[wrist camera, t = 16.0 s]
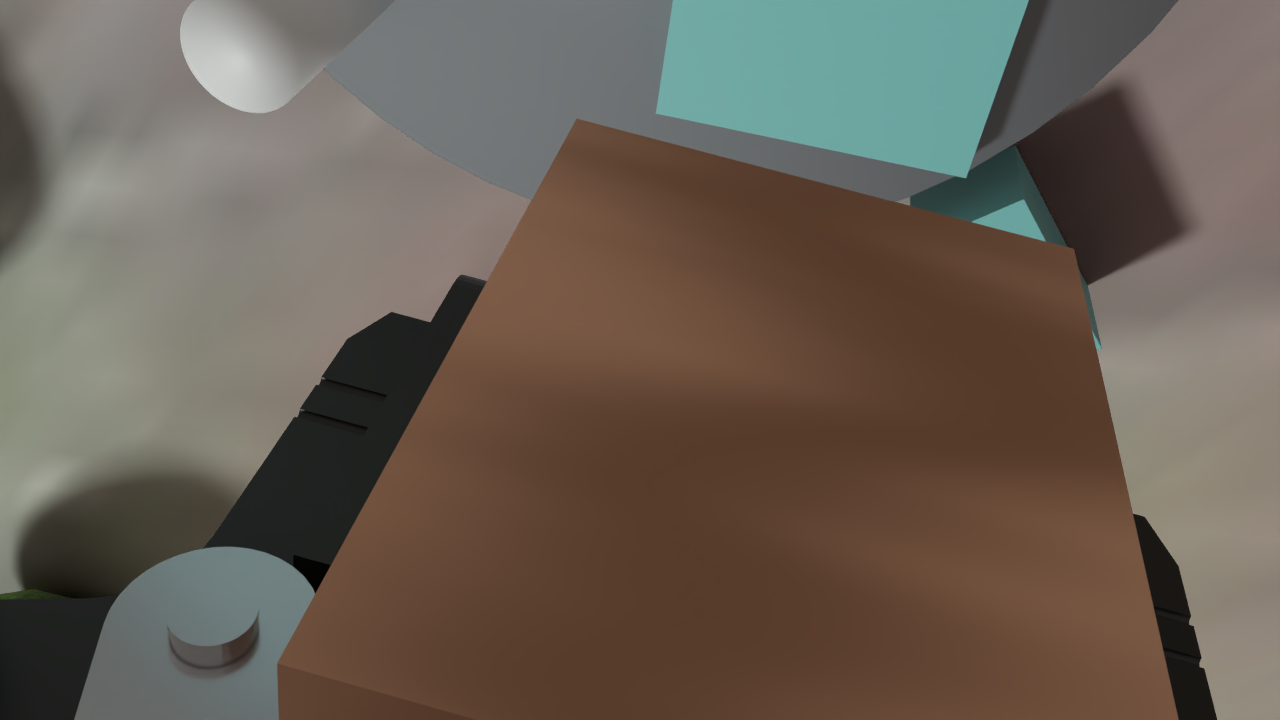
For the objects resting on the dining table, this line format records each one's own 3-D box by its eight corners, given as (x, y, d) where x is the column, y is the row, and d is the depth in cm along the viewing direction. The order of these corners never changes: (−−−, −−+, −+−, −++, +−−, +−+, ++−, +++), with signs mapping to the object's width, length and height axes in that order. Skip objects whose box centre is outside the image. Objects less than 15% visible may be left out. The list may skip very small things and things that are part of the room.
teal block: (910, 192, 25) (909, 247, 23) (1014, 144, 24) (1023, 199, 22) (986, 325, 27) (991, 387, 25) (1088, 286, 25) (1101, 348, 24)
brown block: (1073, 248, 10) (1225, 929, 5) (904, 579, 13) (900, 1218, 8) (576, 118, 10) (275, 662, 5) (518, 474, 13) (287, 1037, 8)
